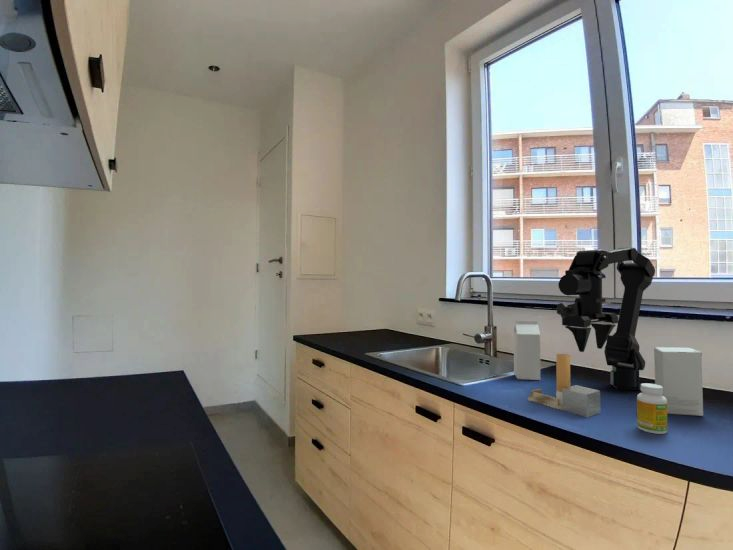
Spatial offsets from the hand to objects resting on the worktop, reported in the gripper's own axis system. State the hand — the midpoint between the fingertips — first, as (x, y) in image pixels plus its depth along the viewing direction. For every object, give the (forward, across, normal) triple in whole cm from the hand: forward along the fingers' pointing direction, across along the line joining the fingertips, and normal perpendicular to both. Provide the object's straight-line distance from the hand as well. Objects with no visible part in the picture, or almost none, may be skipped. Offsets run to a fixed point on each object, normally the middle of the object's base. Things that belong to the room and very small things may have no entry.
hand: (590, 350), depth 112 cm
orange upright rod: (+12, +15, +3) cm, 19 cm away
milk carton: (+13, -4, -23) cm, 27 cm away
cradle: (+13, +15, -2) cm, 20 cm away
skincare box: (+13, -6, +18) cm, 23 cm away
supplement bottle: (+13, +13, +20) cm, 28 cm away
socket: (+13, +15, +6) cm, 20 cm away
